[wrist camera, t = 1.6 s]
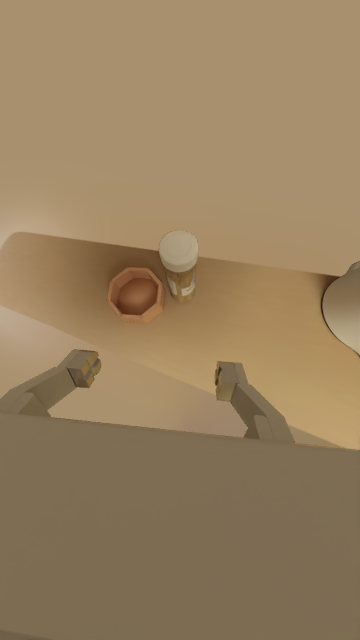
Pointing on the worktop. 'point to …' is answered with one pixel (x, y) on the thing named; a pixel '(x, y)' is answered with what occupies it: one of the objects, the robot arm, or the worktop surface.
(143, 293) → the bowl
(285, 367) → the worktop surface
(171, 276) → the sprinkles bottle
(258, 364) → the worktop surface
